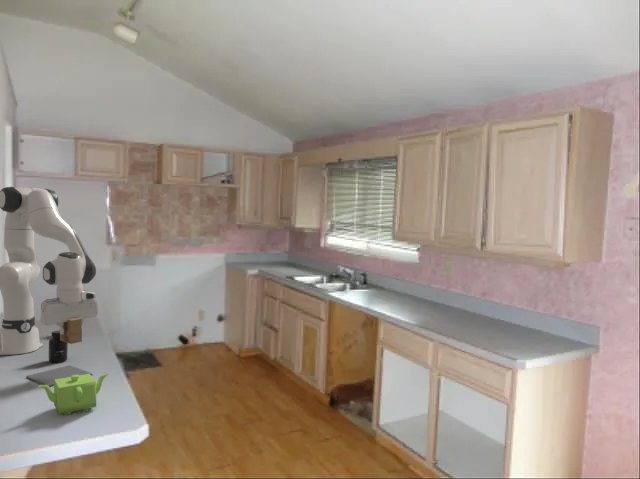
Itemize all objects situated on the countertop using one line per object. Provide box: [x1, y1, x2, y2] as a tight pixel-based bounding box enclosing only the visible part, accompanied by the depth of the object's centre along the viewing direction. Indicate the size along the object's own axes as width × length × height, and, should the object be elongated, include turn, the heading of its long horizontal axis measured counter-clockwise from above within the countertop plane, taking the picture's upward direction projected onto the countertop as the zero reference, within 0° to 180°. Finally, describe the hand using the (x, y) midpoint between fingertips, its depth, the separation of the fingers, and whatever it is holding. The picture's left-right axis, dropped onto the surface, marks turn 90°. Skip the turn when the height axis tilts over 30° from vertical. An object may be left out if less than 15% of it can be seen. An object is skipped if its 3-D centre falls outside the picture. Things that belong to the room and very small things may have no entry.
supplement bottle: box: [48, 329, 69, 364], centre depth 197 cm, size 7×7×12 cm
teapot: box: [37, 373, 110, 416], centre depth 150 cm, size 15×13×11 cm
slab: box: [60, 317, 83, 345], centre depth 182 cm, size 8×4×9 cm, turn 55°
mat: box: [26, 364, 93, 388], centre depth 179 cm, size 16×16×1 cm
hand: (70, 332), depth 182 cm, fingers closed on slab, 4 cm apart
